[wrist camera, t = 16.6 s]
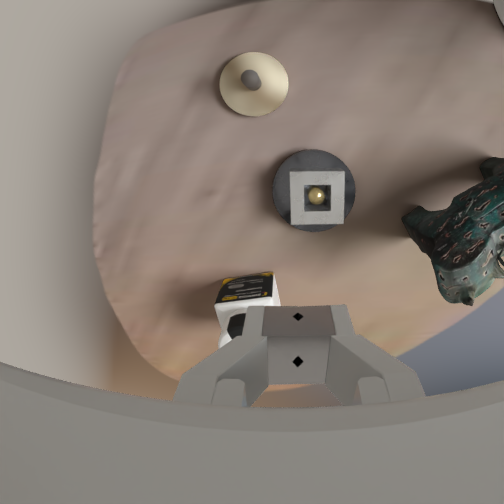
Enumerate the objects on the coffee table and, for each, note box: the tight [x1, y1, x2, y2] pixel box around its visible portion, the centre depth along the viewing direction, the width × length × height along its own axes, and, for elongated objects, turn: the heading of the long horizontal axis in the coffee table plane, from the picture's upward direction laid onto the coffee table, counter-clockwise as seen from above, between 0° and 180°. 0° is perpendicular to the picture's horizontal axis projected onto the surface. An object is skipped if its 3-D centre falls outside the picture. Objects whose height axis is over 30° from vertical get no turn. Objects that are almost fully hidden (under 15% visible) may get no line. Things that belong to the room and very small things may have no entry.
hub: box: [273, 149, 355, 232], centre depth 37 cm, size 10×10×4 cm
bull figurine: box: [402, 157, 504, 306], centre depth 28 cm, size 20×6×20 cm, turn 126°
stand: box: [220, 52, 288, 116], centre depth 32 cm, size 8×8×6 cm
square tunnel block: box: [289, 168, 345, 225], centre depth 36 cm, size 6×6×3 cm
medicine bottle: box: [214, 272, 281, 349], centre depth 40 cm, size 7×7×12 cm
